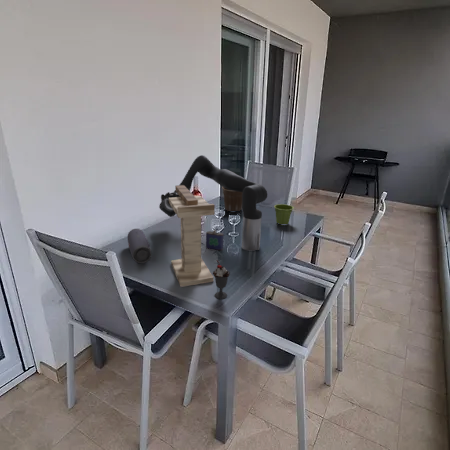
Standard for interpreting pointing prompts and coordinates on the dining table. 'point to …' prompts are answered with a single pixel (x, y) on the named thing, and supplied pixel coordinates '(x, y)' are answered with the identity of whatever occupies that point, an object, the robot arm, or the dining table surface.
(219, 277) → the sundae
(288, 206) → the plant pot
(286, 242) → the dining table surface
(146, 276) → the dining table surface
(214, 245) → the flask
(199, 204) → the birch stand
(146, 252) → the bluetooth speaker
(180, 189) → the walnut plank
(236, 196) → the plant pot
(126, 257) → the dining table surface
